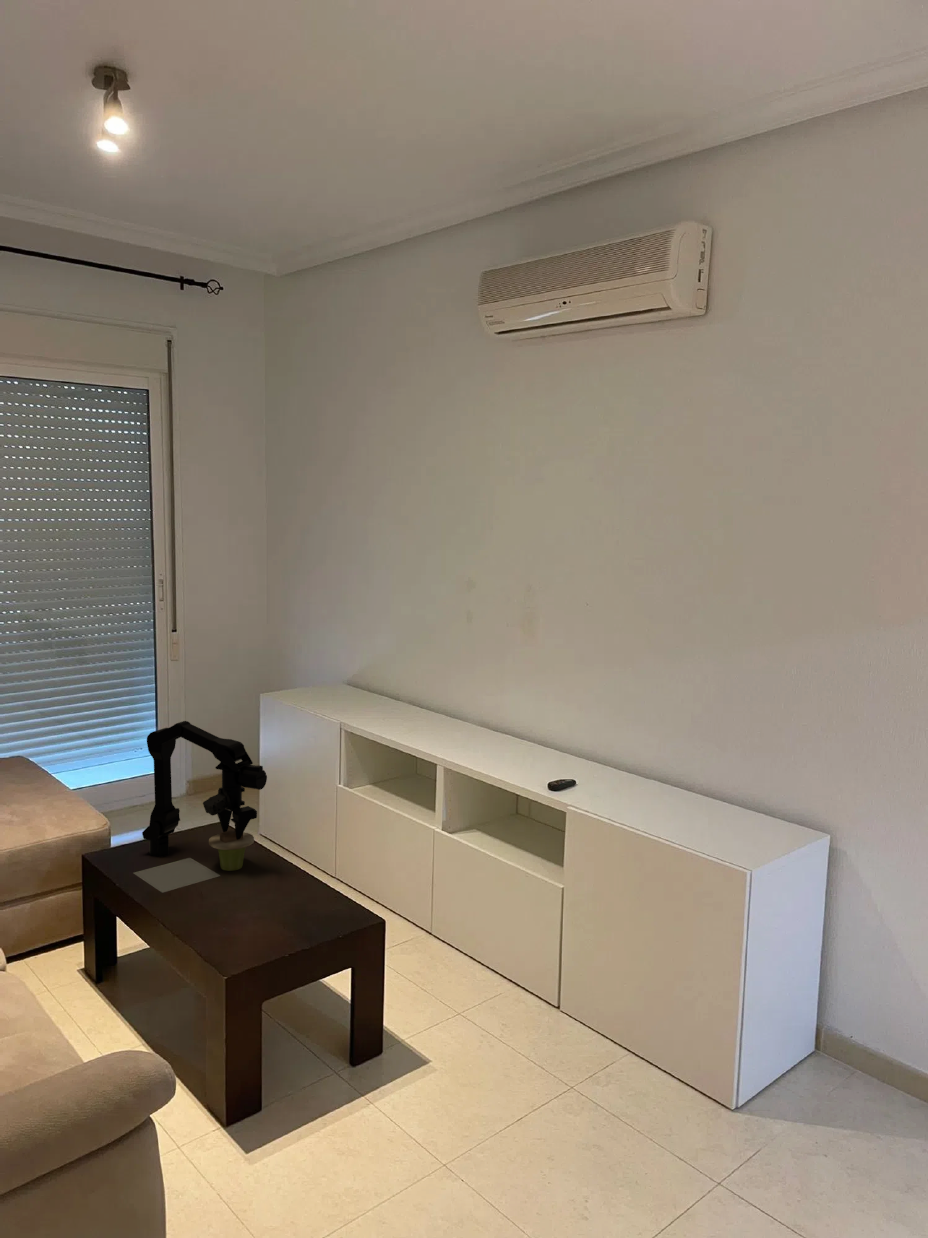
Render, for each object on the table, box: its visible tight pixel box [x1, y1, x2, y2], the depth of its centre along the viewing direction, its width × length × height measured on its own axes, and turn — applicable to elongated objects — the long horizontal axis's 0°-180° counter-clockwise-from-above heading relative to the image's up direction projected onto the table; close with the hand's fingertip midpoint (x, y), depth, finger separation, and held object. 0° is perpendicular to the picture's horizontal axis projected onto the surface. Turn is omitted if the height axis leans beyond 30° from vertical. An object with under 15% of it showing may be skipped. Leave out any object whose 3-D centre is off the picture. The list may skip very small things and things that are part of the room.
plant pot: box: [217, 847, 247, 872], centre depth 269 cm, size 9×9×9 cm
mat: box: [133, 857, 221, 894], centre depth 262 cm, size 18×18×1 cm
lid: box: [208, 828, 255, 850], centre depth 268 cm, size 13×13×3 cm
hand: (231, 835), depth 268 cm, fingers open, 7 cm apart
